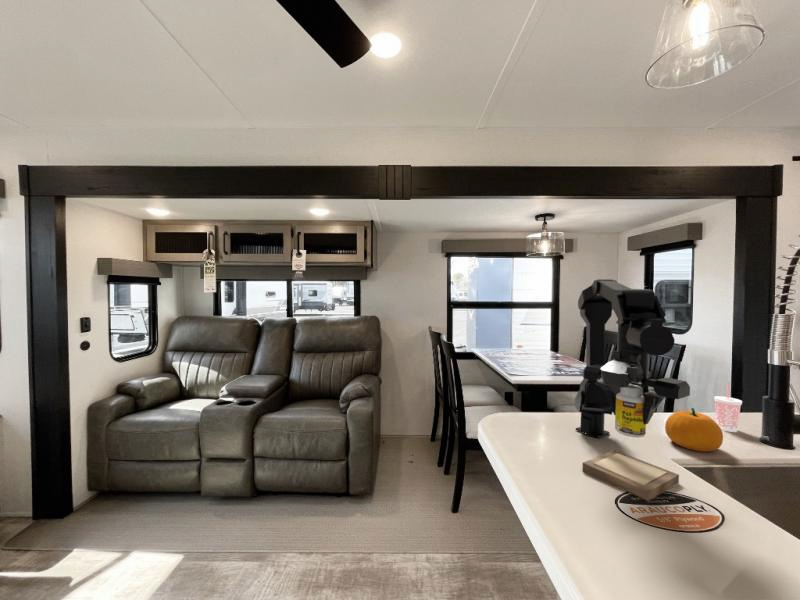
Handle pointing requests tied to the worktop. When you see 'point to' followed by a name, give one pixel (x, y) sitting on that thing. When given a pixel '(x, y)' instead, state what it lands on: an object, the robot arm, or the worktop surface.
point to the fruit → (694, 431)
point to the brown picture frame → (631, 474)
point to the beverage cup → (727, 412)
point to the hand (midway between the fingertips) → (630, 419)
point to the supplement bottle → (630, 411)
